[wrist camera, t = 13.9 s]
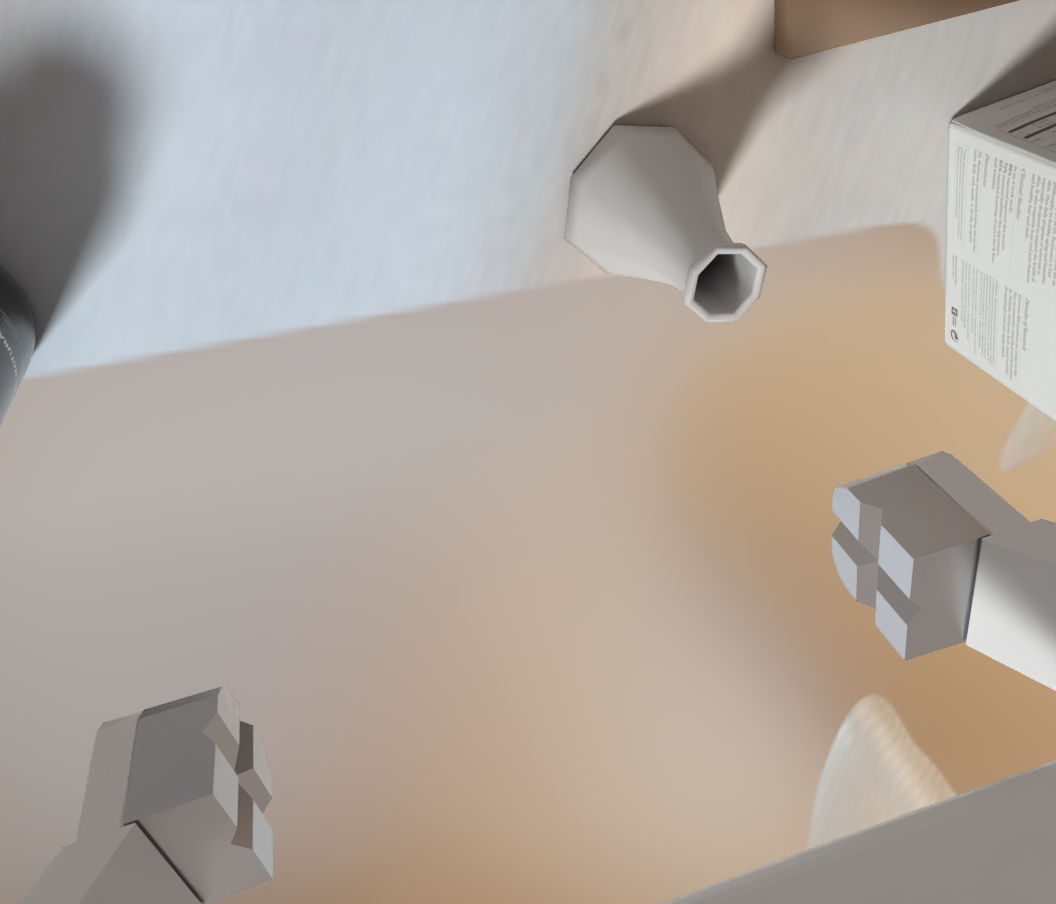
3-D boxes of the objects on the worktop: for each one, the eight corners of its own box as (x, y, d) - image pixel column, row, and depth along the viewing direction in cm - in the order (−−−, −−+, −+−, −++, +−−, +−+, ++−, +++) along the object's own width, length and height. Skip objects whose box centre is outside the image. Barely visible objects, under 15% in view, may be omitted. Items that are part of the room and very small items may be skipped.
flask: (736, 152, 42) (850, 226, 34) (665, 290, 45) (754, 388, 37) (603, 95, 39) (693, 162, 31) (538, 248, 42) (604, 344, 34)
